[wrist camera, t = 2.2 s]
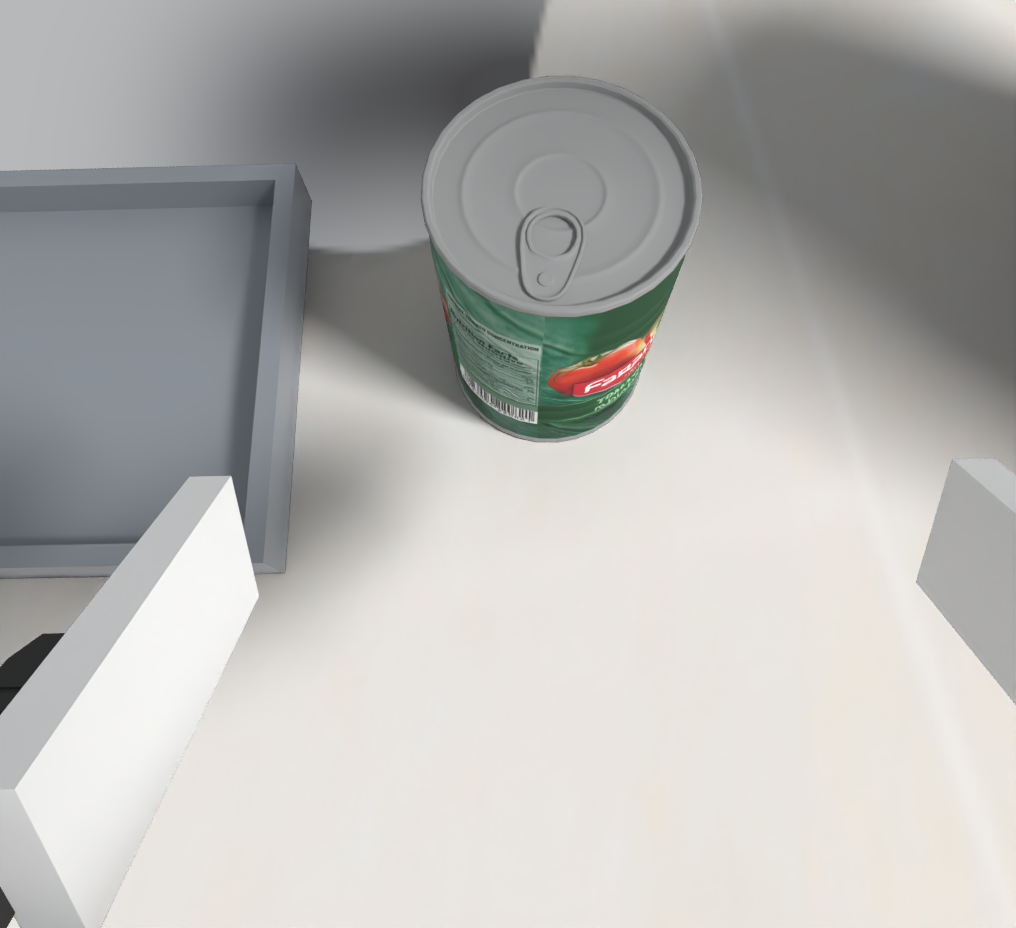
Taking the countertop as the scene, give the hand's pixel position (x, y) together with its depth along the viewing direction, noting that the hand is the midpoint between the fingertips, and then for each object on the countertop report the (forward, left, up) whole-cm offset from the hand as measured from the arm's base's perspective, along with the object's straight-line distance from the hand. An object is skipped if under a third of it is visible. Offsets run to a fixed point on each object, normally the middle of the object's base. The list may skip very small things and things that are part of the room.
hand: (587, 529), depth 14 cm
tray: (+19, -10, -15) cm, 26 cm away
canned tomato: (0, -11, -15) cm, 18 cm away
